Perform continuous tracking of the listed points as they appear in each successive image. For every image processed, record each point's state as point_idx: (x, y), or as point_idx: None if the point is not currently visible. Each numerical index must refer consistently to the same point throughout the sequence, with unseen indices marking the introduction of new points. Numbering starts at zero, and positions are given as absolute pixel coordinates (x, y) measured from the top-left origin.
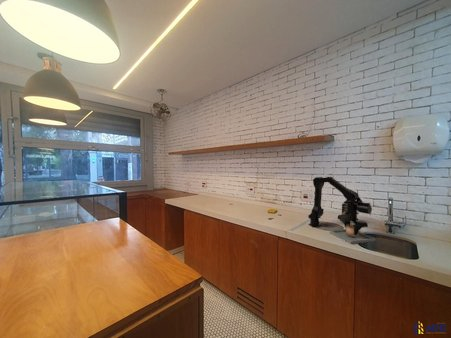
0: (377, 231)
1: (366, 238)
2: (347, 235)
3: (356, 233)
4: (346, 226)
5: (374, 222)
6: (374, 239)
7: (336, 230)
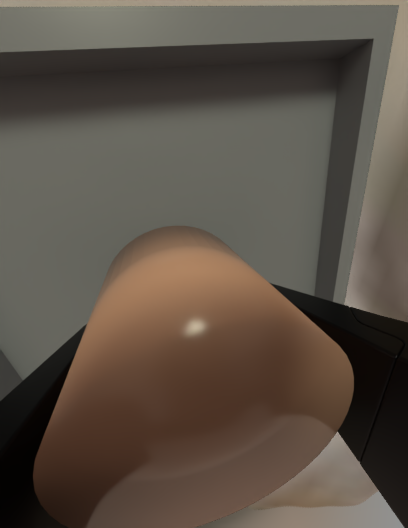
0: None
1: None
2: None
3: None
4: (269, 304)
5: (366, 493)
6: None
7: (355, 160)
